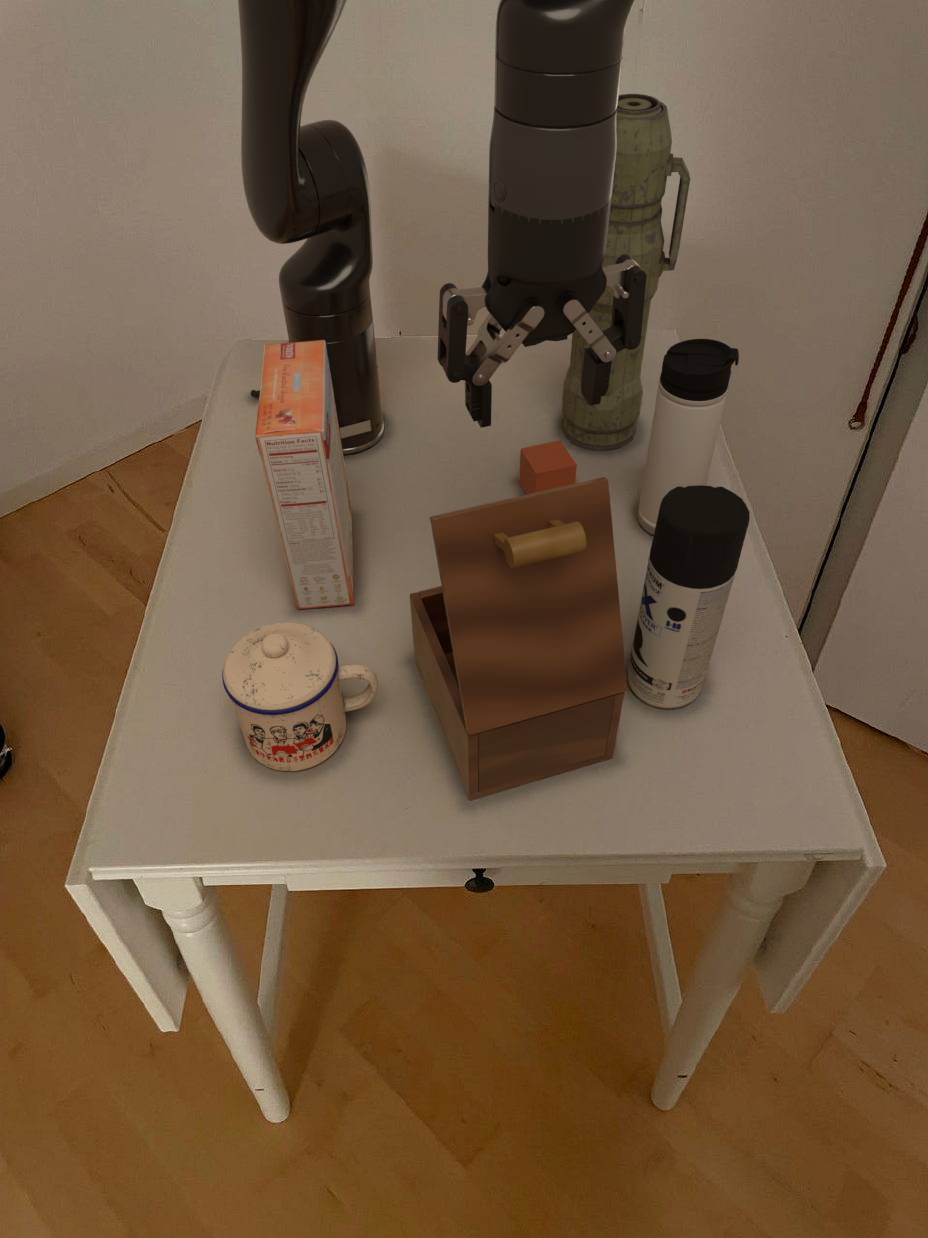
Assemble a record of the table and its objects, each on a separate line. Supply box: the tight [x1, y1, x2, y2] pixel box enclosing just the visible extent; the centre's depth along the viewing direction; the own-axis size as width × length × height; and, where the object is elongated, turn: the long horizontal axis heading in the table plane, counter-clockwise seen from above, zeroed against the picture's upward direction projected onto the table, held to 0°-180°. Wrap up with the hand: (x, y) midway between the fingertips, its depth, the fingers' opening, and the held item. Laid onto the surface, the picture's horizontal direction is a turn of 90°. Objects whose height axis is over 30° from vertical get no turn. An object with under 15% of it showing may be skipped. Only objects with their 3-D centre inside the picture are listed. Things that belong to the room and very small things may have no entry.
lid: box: [429, 476, 628, 735], centre depth 63 cm, size 16×13×5 cm
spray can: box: [627, 485, 751, 710], centre depth 74 cm, size 7×7×20 cm
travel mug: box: [637, 338, 740, 536], centre depth 89 cm, size 6×7×20 cm
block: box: [518, 439, 578, 495], centre depth 98 cm, size 5×5×5 cm
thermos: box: [561, 93, 691, 452], centre depth 95 cm, size 9×12×35 cm
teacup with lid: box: [221, 622, 379, 772], centre depth 74 cm, size 12×9×12 cm
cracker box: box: [254, 340, 355, 610], centre depth 85 cm, size 14×6×21 cm, turn 5°
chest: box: [409, 585, 625, 801], centre depth 77 cm, size 16×13×9 cm
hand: (536, 409), depth 68 cm, fingers open, 8 cm apart
